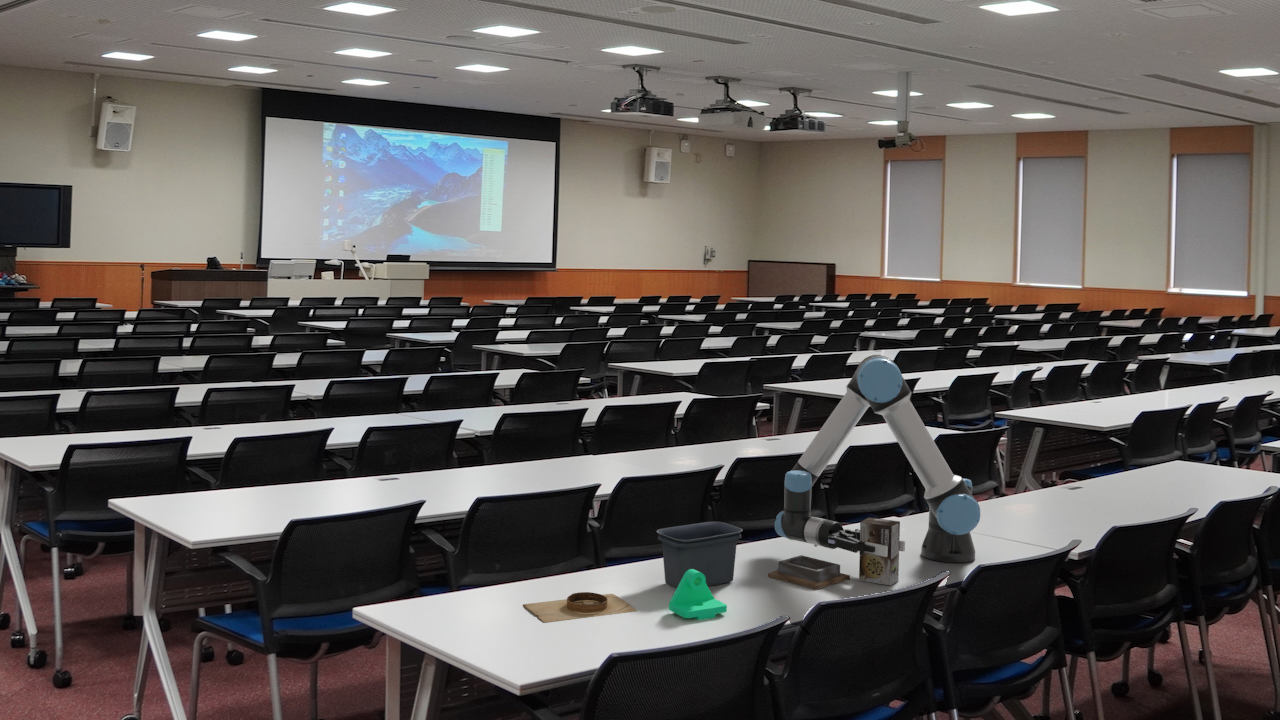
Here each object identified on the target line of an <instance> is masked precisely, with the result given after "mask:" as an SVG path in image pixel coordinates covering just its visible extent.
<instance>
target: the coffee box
mask: <svg viewBox="0 0 1280 720" xmlns="http://www.w3.org/2000/svg"><path fill="white" fill-rule="evenodd" d="M900 527H901V521H899V520H891V519H890V520H889V519H883V518H875V517H867V518H865V519H864V520H862V521H860V522H859V530H860V541H862V542H864V544H865V542H871V543H875V544H880V545H884V546H888V554H887V557H884V556H879V555H875V554H871V553H866V552H865V551H864V555H860V554H859V561H858V563H859V565H858V566H859V570H858V581H860V582H868V583H873V584H877V585H878V584H880V585H885V586H892V585H893V584H895V583H897V582H898V581H899V572H900V571H899V568H900V567H899V566H900V563H899V562H900V551H899V540H900V532H901V528H900Z"/></svg>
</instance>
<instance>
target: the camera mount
mask: <svg viewBox="0 0 1280 720" xmlns="http://www.w3.org/2000/svg"><path fill="white" fill-rule="evenodd" d="M727 608H728V604H726V603H725V602H722V601H720V600H718V599H716V598H715V596H714V595H713V592H711V590H710V588H709V586H707V584H706V578H705V575H704V574H703V573H701V572H699V571H696V570H694V569H689V570H688V571H686V572H685V574H684V576H683V578H682V580H681V581H680V583H679V585H678V587H677V588H676V589H675V590H674V593H673V595H672V597H671V599H670V601H669V602H668V610H669V611H671V612H673V613H675V614H676V615H678V616H680V617H682V618H684V619H692V618H694V619H695V620H696V621H702V620H707V619H709V620H710V619H716V614H723V613H727Z"/></svg>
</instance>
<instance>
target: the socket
mask: <svg viewBox="0 0 1280 720" xmlns="http://www.w3.org/2000/svg"><path fill="white" fill-rule="evenodd" d="M777 565H778V567H777V570H773V571H769V572H767V577H769V578H771V579H776V580H779V581H783V582H786V583H790V584H792V585H797V586H801V587H804V588H809V589H812V590H819V589H822V588H825V587H829V586H832V585H835V584H838V583H841V582H845V581H847V580H850V579H851V575H850V574H846V573H842V572H841V564H838V563H833V562H831V561H827V560H823V559H822V560H821V559H819V558H815V557H810V556H805V555H803V554H802V555H798V556H793V557H790V558H785V559H782V560H779V561H778V563H777Z"/></svg>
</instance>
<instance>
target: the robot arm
mask: <svg viewBox="0 0 1280 720" xmlns="http://www.w3.org/2000/svg"><path fill="white" fill-rule="evenodd" d="M845 387H846V388H845V389H846V392H845V394H844V395H843V396H842V398H841V400H840V401H839V403H838V404H837V405H836V407H835V408H834V409H833V410H832V412H831V413H830V415H829V416H828V418H827V419H826V421H825V422H824V423H823V425H822V427H821V428H820V429H819V431H818V432H817V434H816V435H815V436H814V438H813V439H812V440H811V441H810V444H809V445H808V446H807V447H806V449H805V450H804V452H803V453H802V455H800V458H799V459H798V460H797V462H796V464H795V465H794V466H793V468H792V469H791V470H790V471H787V472H786V473H785V477H784V482H783V483H784V494H783V495H784V499H783V500H784V506H783V510H781V511H780V512H779V513H778V514H777V515H776V517H775V518H776V520H775V521H774V530H775V532H776V534H777V535H778V536H780V537H782V538H785V539H788V540H791V541H797V542H802V543H806V544H810V545H813V546H814V547H816V548H817V547H818V546H819V547H823V548H827V549H831V550H836V549H837V548H838V549H842V550H843V551H848V552H852V553H855V554H856V553H859V556H860V555H864V551H865V552H866V553H871V554H875V555H879V556H884V557H887V554H888V546H884V545H880V544H875V543H871V542H865V544H864V542H862V541H860V528H859V529H858V528H855V529H854V530H852V529H849V528H846V529H844V527H843V525H842V524H841V523H840V522H838V521H834V520H830V519H825V518H822V517H816V516H813V515H812V516H811V512H812V511H811V505H812V487H813V486H814V485H815V483H816V482H817V480H818V478H820V476H821V474H822V473H823V471H824V470H825V469H826V467H827V466H828V464H829V463H830V462H831V460H832V459H833V458H834V457H835V455H836V454H837V452H838V451H839V449H840V448H841V446H842V445H843V444H844V442H845V441H846V439H847V438H848V436H849V435H850V434H851V432H852V431H853V430H854V429H855V427H856V425H857V424H858V422H859V421H860V420H861V418H862V417H863V416H864V414H865V413H866V411H867V410H868V409H869V408H870V407H871V409H872V412H874V414H877V415H881V416H882V417H883V419H884V421H885V422H886V424H887V426H888V428H889V429H890V431H891V433H892V435H893V436H894V438H895V439H896V441H897V442H898V445H899V446H900V448H901V449H902V452H903V454H904V455H905V457H906V458H907V461H908V462H909V464H910V465H911V467H912V468H913V470H914V472H915V474H916V475H917V477H918V478H919V480H920V482H921V484H922V486H923V487H924V489H925V491H924V494H923V495H924V496H923V498H924V500H925V501H926V503H927V505H928V507H929V508H928V509H929V510H928V527H927V528H928V529H927V531H926V534H925V537H924V540H923V542H922V544H921V547H920V548H921V550H920V552H921V553H920V554H921V556H922V557H924V558H926V559H929V560H931V561H935V562H936V561H937V562H943V563H956V564H957V563H969V562H973V561H974V560H975V559H976V549H975V545H974V541H973V537H972V534H971V532H972V531H973V530H974V529H976V528H977V526H978V525H979V523H980V519H981V508H980V507H981V506H980V504H979V503H978V501H977V499H975V497H974V495H973V489H974V487H973V482H972V480H971V479H968V478H962V476H960V475H957V474H954V473H953V471H952V470H951V468H950V466H949V464H948V463H947V461H946V459H945V458H944V456H943V454H942V452H941V451H940V449H939V447H938V446H937V444H936V442H935V441H934V439H933V437H932V436H931V434H930V431H928V429H927V427H926V426H925V424H924V422H923V420H922V419H921V416H920V415H919V414H918V412H917V410H916V408H915V407H914V405H913V403H912V401H911V397H912V390H911V388H910V387H909V385H908V384H907V382H906V380H905V378H904V376H903V375H902V372H901V370H900V368H899V366H898V365H897V364H896V363H895V362H894V361H893V360H892V359H890V358H889V357H888V356H885V355H881V354H872V355H870V356H867V357H865V358H864V359H862V360H861V361H860V363H859V365H858V366H857V368H856V370H855V371H854V374H853V375H852V377H851V379H850V380H849V382H848V384H847V385H846V386H845ZM905 551H906V541H905V540H900V539H899V552H902V553H904V552H905Z"/></svg>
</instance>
